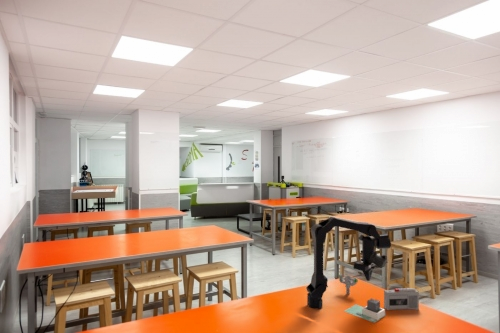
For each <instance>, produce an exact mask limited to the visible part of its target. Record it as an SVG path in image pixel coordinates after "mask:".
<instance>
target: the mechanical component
mask: <svg viewBox="0 0 500 333" xmlns="http://www.w3.org/2000/svg"><path fill="white" fill-rule="evenodd" d="M338 278H339V279H338V280H339V282H340V283H342V284H343V285H345V289H346V291H345V293H346V295H350V288H351V287H353V286H356V285H357V283H358V282H359V281H358V278H357V277H355V276H351V275H345V276H344V275H343V274H338Z"/></svg>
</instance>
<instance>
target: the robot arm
mask: <svg viewBox="0 0 500 333" xmlns="http://www.w3.org/2000/svg"><path fill="white" fill-rule="evenodd" d="M335 227H339V228H342V229H348V230H352V231H357V232H358V233H360V234H361V235H360V236H357V240H359V241H361V242H362V245H361V248H362V249H361V250H360V254H361V258H360V260H359V261H358V260H357V261H356V262H354V263H353V264H352V266H353V269H354V270H358V271H362V273H363V275H364V277H365V279H366V281H367V282H369V281H371V277H372V274H373V271H374V270H375V269H376V268H379V269H382V268H385V267H386V265H387V263H388V257H387V255H385V254H383V255H378V253H377V251H376V250H375V249H378V250H380V249H381V250H382V249H383V250H384V249H390V248H391V246H392V242H391V240H390V237H389V235H388V234H380V233H379V232H378V231H377V227H376V226H375V225H374V224H372V223H369V222H361V221H359V222H356V221H355V222H354V221H351V220H346V219H343V218H336V217H334V216H330V217H328V218H326V219H324V220H322V221H320V222H318V223H315V224H313V225H312V226H311V227H310V232H311V233H310V234H311V237H312V241H313V273H312V276H311V281H310V283H309V284H308V285H307V286H306V292H308V293H307V294H306V295H307V297H306V299H307V301H306V302H307V306H308V307H309V308H311V309H313V310H314V309H316V310H321V309H323V296H324V293H325V292H326V291H327V288H328V287H329V286H328V277H326V275H324V244H325V241H326V237H327V234H328V233H330V232H331V231H332V230H333V229H334V228H335ZM364 235H365V236H364Z"/></svg>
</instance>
